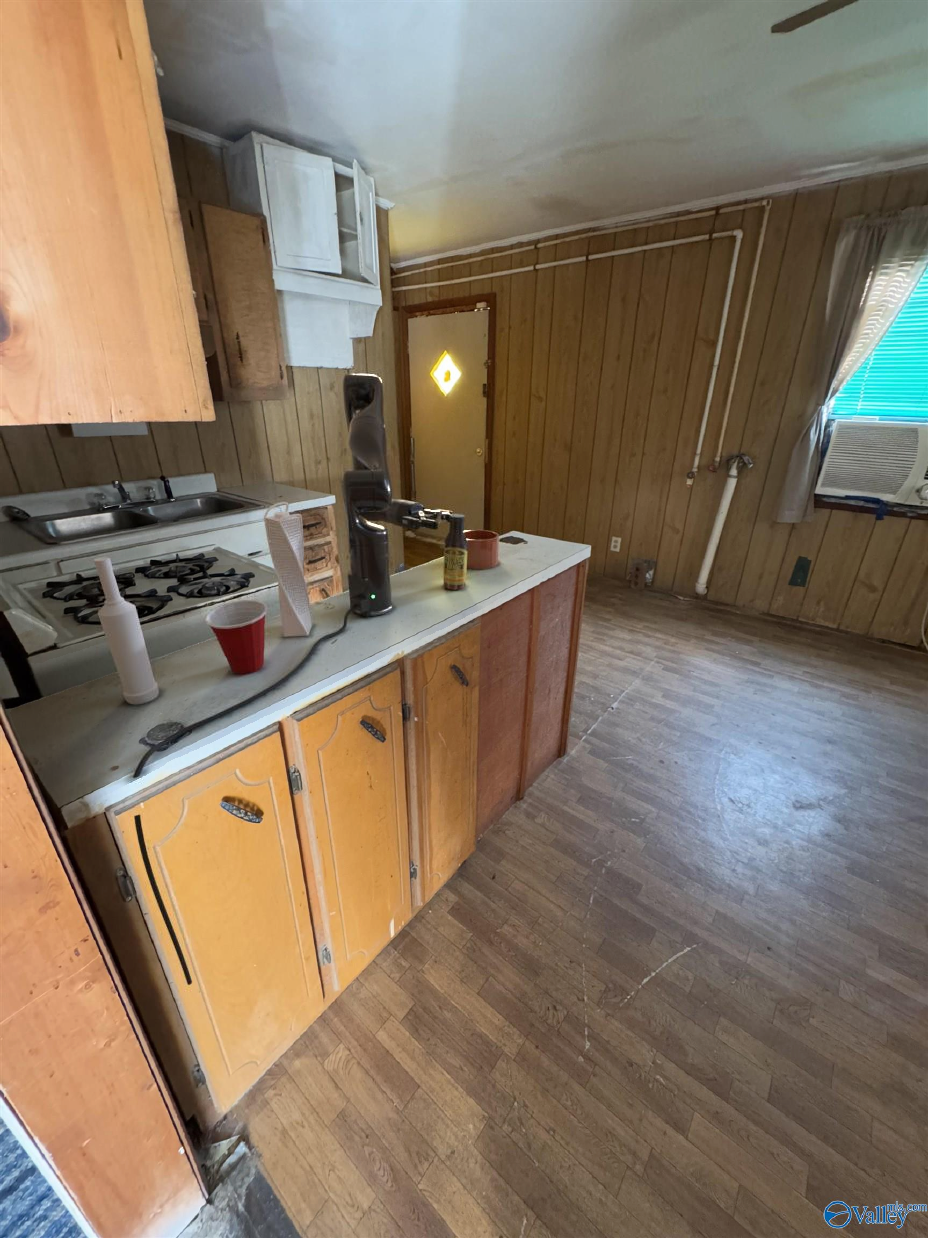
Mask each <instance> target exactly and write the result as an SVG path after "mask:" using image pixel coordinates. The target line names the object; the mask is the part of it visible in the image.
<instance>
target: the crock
mask: <svg viewBox="0 0 928 1238" xmlns="http://www.w3.org/2000/svg"><path fill="white" fill-rule="evenodd" d="M464 535H465V537H466V539H467V541H468V542H467V569H469V570H486V569H492V568H495V567H496V566H498V564H499V543H500V542H499V541H500V534H499V533H497V532H495V531H493V530H485V529H469V530H464Z"/></svg>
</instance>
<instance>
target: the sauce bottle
mask: <svg viewBox="0 0 928 1238" xmlns="http://www.w3.org/2000/svg"><path fill="white" fill-rule="evenodd" d="M465 520H466V516H465V515H464V514H461V513H452V514H451V515H450V517H449V521H450V523H449V529H448V530H449V531H448V533H447V535H446V537H445V539H444V549H443V575H442V576H443V578H442V579H443V580H442V581H443V587H444V588H445V589H448V590H452V591H455V590H462V589H464V588H465V587H466V582H467V569H468V568H467V542H468V541H467V539H466V537H465V535H464V531H465Z"/></svg>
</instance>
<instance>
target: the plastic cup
mask: <svg viewBox="0 0 928 1238" xmlns="http://www.w3.org/2000/svg"><path fill="white" fill-rule="evenodd" d="M267 610H268V606H267V604H266V603H264V602H263V601H260V600H256V599H240V600H232V601H230V602H226V603H223V604H220V605H218V606H216V607H214V608H212V609H211V610H209V612H207V613H206V614H205V615H204V618H203V620H204V622H205V623H206V624H207V626H208V627H210V629H211V630H212V632H213V634H214V636H215V637H216V639H217V641H218V644H219V646H220V648H221V651H222V652H223V655H224V657H225V658H226V660H227V663H228V665H229V667H230V669H231V671H232V673H234V674H237V675H249V674H252V673H256V672H258V671H259V670H261V669H262V668H263V667H264V663H265V624H266V615H267V612H268V611H267Z"/></svg>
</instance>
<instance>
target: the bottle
mask: <svg viewBox="0 0 928 1238" xmlns="http://www.w3.org/2000/svg"><path fill="white" fill-rule="evenodd" d="M93 562H94V564H95V569H96V572H97V575H98V577H99V581H100V584H101V587H102V591H103V594H104V597H105V600H104V605H103V606H102V607H101V608H100V609H99V611H98V612H97V616H98V618H99V621H100V624H101V627H102V630H103V633H104V636H105V638H106V641H107V644H108V648H109V650H110V653H111V656H112V659H113V661H114V664H115V668H116V670H117V674H118V676H119V678H120V679H119V680H120V683H121V685H122V688H123V691H122V693H123V697H124V699H125V701H126V702H127V703H128V704H130V705H136V706H137V705H142V704H147V703H149V702H150V701H153V700H155V699H156V698H158V696H159V694H160V689H159V685H158V682H156V681H155V677H154V673H153V669H152V666H151V662H150V657H149V653H148V650H147V646H146V642H145V639H144V635H143V631H142V625H141V622H140V619H139V614H138V610H137V608H136V605H135V604H134V603H132V602H129V601H126V600H125V598H124V597H122V596H121V593H120V590H119V587H118V583H117V580H116V577H115V573H114V568H113V564H112V561H111V558H110V557H109V556H102V557H96V558H94V559H93Z"/></svg>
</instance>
